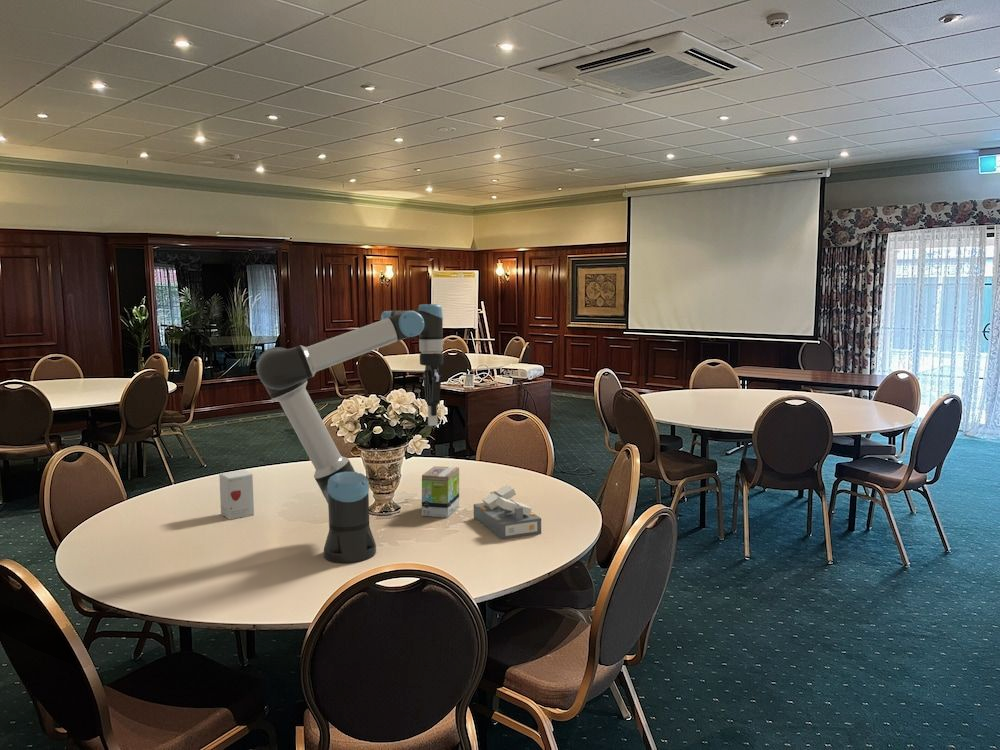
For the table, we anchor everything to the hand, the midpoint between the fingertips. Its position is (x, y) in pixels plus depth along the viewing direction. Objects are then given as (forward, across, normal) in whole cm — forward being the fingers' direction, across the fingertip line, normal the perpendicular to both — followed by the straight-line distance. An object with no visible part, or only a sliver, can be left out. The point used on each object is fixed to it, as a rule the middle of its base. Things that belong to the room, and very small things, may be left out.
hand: (432, 425), depth 224 cm
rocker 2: (+27, -13, -22) cm, 37 cm away
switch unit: (+34, -7, -22) cm, 42 cm away
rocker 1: (+27, -1, -23) cm, 36 cm away
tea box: (+35, +18, -8) cm, 40 cm away
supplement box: (+35, +44, +59) cm, 81 cm away
